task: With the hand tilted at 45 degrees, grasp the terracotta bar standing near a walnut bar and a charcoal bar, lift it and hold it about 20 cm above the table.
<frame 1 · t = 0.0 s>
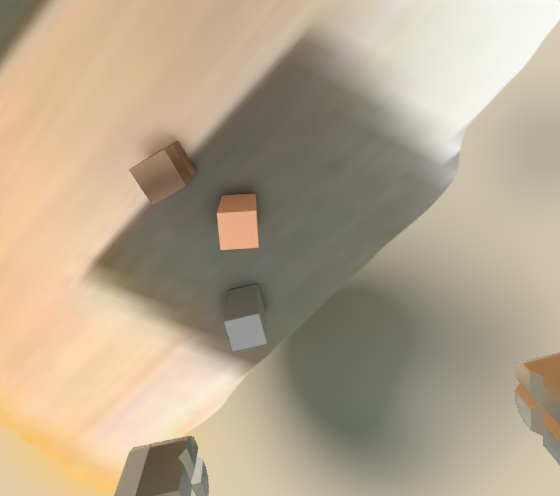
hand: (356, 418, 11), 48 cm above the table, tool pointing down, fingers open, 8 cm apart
charcoal bar: (246, 300, 62), on the table
terracotta bar: (240, 210, 58), on the table
walnut bar: (172, 164, 55), on the table
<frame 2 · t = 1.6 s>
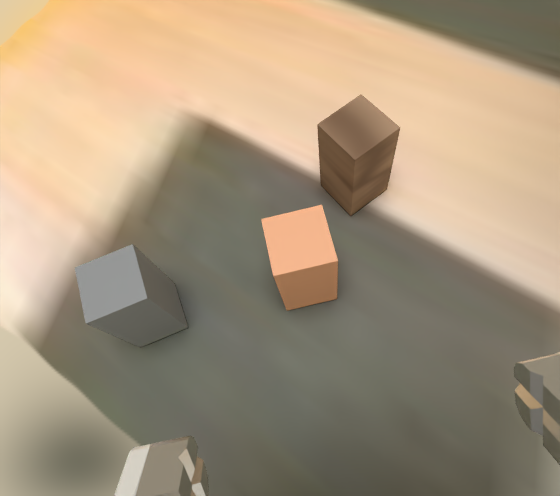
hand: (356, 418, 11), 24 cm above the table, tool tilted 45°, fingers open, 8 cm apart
charcoal bar: (158, 314, 38), on the table
terracotta bar: (306, 281, 38), on the table
walnut bar: (353, 187, 41), on the table
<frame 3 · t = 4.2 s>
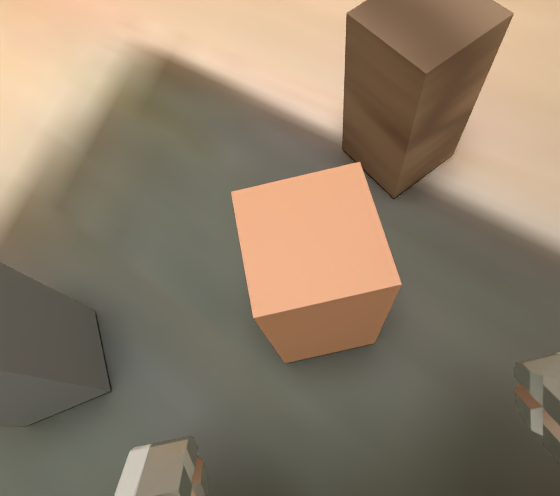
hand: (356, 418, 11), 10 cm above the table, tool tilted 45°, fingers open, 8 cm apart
charcoal bar: (61, 365, 22), on the table
terracotta bar: (318, 309, 22), on the table
walnut bar: (396, 151, 25), on the table
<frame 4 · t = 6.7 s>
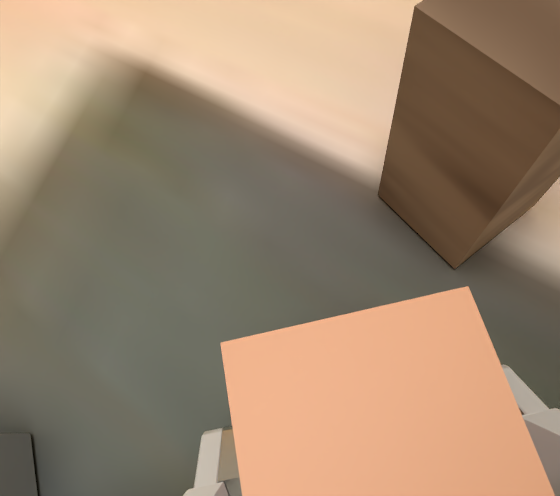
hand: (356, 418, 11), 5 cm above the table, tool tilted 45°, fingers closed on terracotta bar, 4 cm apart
terracotta bar: (353, 442, 15), on the table, touching gripper
walnut bar: (453, 199, 18), on the table
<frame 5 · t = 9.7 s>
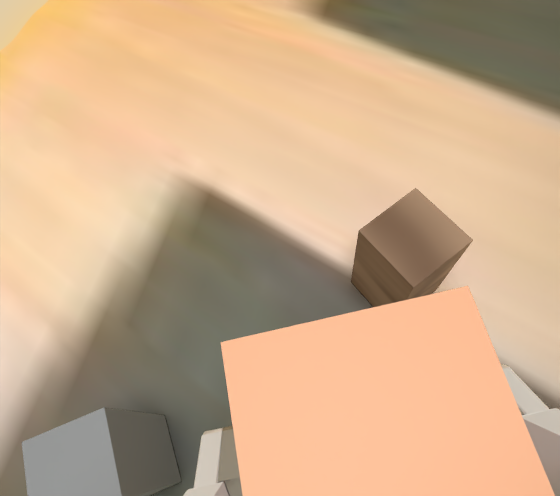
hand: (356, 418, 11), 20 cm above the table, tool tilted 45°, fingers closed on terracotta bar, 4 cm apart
charcoal bar: (142, 460, 29), on the table
terracotta bar: (353, 442, 15), point 15 cm above the table, touching gripper
walnut bar: (392, 285, 32), on the table
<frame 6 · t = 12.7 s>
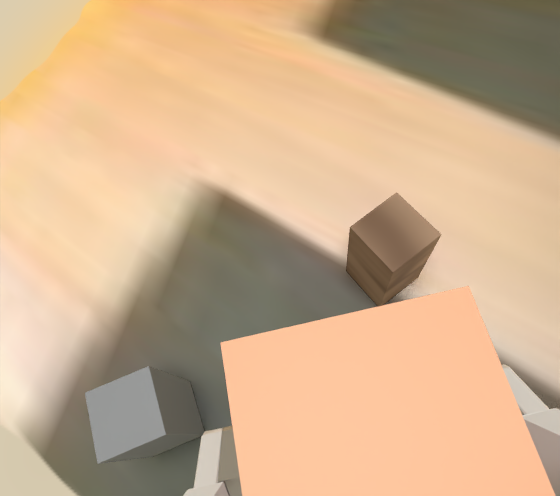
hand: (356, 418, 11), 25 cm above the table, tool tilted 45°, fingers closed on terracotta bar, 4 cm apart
charcoal bar: (172, 417, 35), on the table
terracotta bar: (353, 442, 15), point 20 cm above the table, touching gripper
walnut bar: (381, 274, 38), on the table
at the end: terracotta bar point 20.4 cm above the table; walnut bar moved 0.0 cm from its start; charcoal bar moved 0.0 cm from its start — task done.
